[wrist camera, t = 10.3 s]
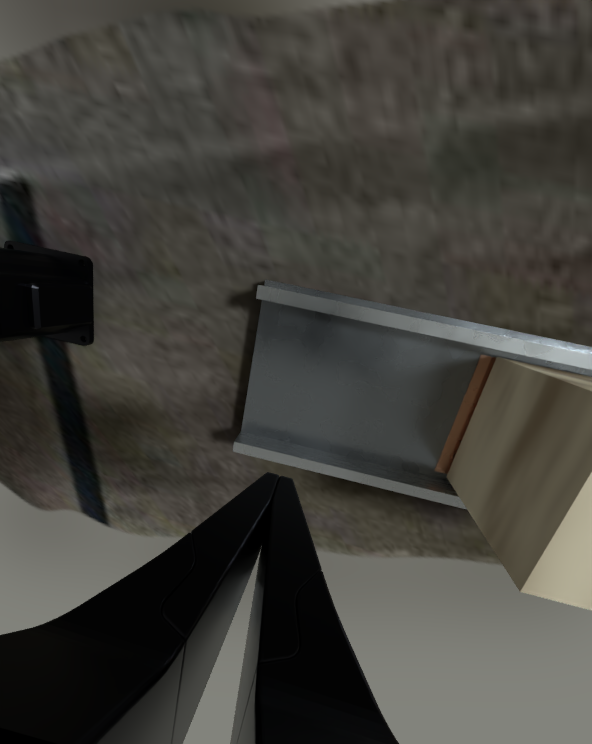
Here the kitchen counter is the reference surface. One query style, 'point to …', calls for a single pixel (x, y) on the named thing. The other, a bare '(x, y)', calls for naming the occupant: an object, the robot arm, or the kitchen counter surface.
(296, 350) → the graphite track
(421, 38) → the kitchen counter surface
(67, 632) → the robot arm
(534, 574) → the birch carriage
